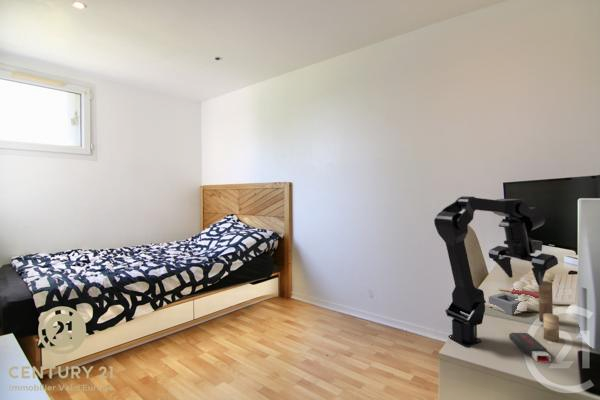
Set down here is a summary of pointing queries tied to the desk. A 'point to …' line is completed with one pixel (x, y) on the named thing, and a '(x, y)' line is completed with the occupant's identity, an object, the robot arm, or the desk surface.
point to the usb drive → (530, 346)
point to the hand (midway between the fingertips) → (524, 281)
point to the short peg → (551, 327)
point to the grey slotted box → (505, 302)
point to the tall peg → (545, 299)
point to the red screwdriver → (523, 292)
